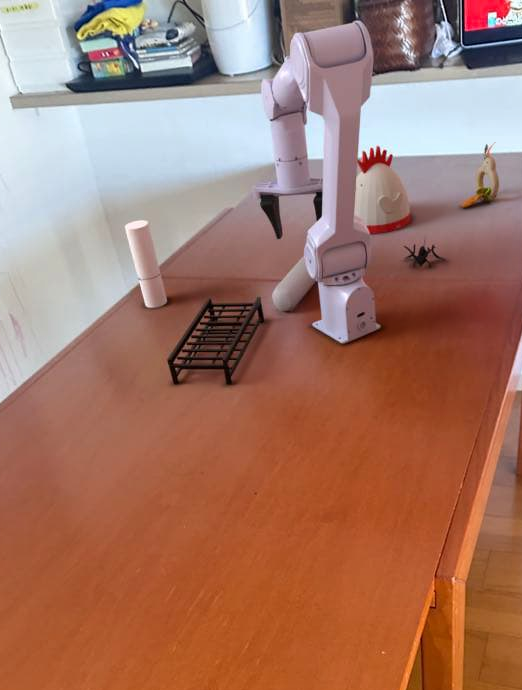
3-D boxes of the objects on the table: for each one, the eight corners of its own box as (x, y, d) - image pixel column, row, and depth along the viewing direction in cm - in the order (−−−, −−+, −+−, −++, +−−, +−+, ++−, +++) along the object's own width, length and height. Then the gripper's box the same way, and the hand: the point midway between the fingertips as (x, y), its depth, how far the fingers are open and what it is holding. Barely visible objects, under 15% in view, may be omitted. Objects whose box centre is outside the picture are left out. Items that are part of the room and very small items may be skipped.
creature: (408, 261, 150) (397, 269, 144) (409, 232, 148) (398, 239, 141) (448, 262, 148) (438, 270, 141) (449, 233, 145) (440, 240, 139)
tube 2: (297, 295, 133) (343, 238, 150) (269, 284, 134) (318, 229, 150) (291, 321, 137) (337, 263, 154) (264, 310, 138) (313, 254, 154)
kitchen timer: (335, 221, 169) (329, 148, 159) (388, 205, 172) (386, 132, 162) (366, 238, 159) (362, 162, 149) (422, 221, 162) (422, 145, 153)
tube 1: (171, 298, 148) (152, 220, 138) (159, 308, 146) (139, 229, 136) (152, 297, 150) (133, 219, 140) (141, 306, 147) (120, 228, 137)
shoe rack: (264, 320, 136) (261, 296, 133) (231, 385, 121) (226, 359, 118) (212, 321, 139) (207, 297, 136) (172, 384, 123) (166, 359, 120)
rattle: (453, 199, 170) (454, 143, 162) (489, 193, 170) (492, 137, 163) (463, 210, 164) (465, 153, 157) (500, 204, 165) (503, 146, 157)
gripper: (336, 146, 131) (342, 225, 140) (255, 152, 135) (266, 229, 144) (329, 159, 126) (336, 240, 135) (246, 165, 130) (258, 244, 139)
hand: (300, 236), depth 139 cm, fingers open, 7 cm apart
